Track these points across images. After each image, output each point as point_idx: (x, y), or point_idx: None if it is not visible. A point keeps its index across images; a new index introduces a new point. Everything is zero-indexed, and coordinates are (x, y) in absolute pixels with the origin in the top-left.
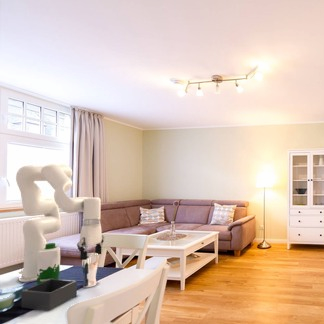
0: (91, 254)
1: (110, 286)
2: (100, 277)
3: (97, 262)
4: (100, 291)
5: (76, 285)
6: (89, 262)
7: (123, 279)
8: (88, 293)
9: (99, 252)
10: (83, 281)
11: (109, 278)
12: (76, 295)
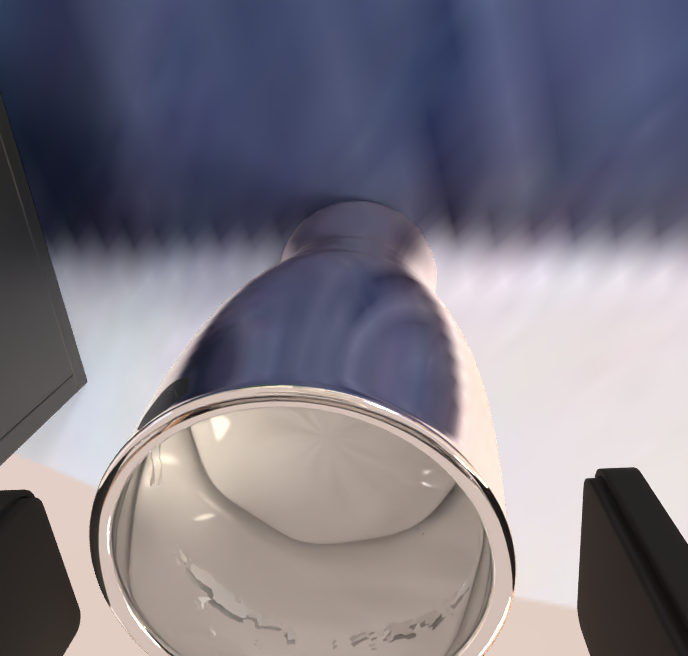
0: (462, 446)
1: None
2: (639, 197)
3: (374, 557)
4: None
5: (16, 445)
6: (202, 540)
7: None
8: None
9: (594, 635)
10: (291, 252)
11: (616, 344)
12: (83, 385)
